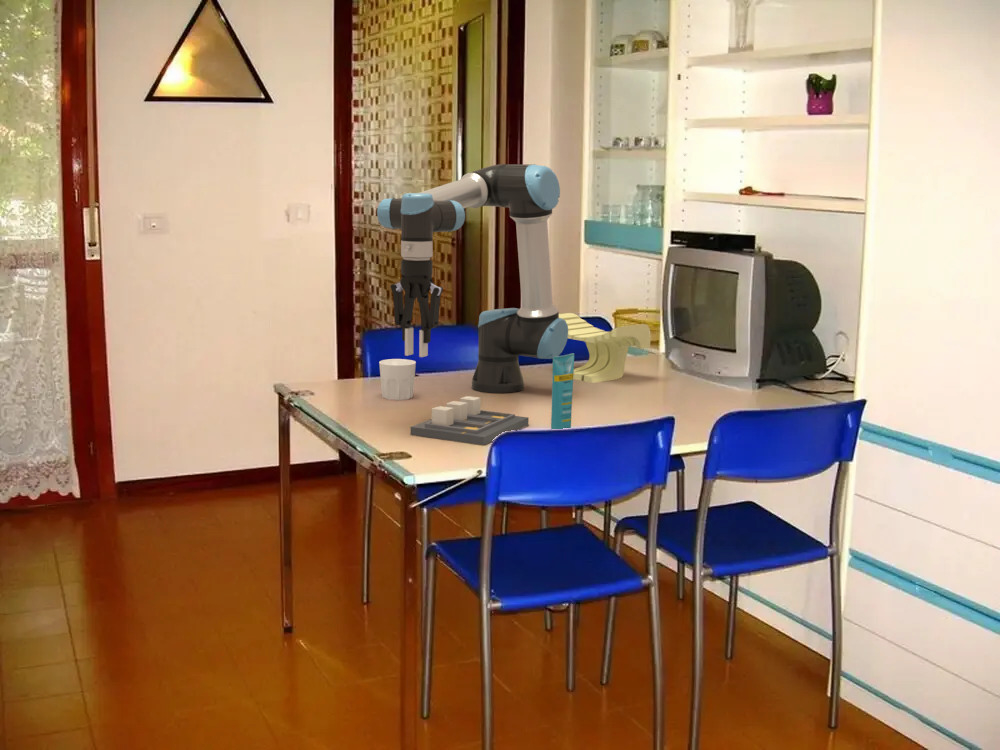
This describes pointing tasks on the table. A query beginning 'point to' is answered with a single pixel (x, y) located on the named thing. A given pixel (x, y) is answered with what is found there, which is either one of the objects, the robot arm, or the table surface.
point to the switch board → (472, 427)
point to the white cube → (442, 415)
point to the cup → (397, 378)
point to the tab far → (472, 404)
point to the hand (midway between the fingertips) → (416, 355)
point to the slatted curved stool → (605, 347)
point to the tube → (562, 391)
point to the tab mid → (458, 409)
